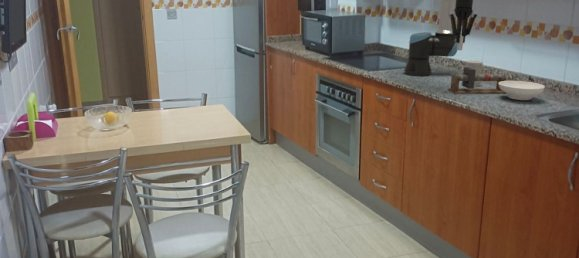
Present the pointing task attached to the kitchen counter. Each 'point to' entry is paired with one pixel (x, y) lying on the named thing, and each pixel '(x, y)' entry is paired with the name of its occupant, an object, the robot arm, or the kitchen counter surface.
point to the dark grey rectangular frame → (469, 77)
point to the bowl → (521, 89)
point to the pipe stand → (484, 77)
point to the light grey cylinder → (477, 66)
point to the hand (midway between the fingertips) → (459, 49)
